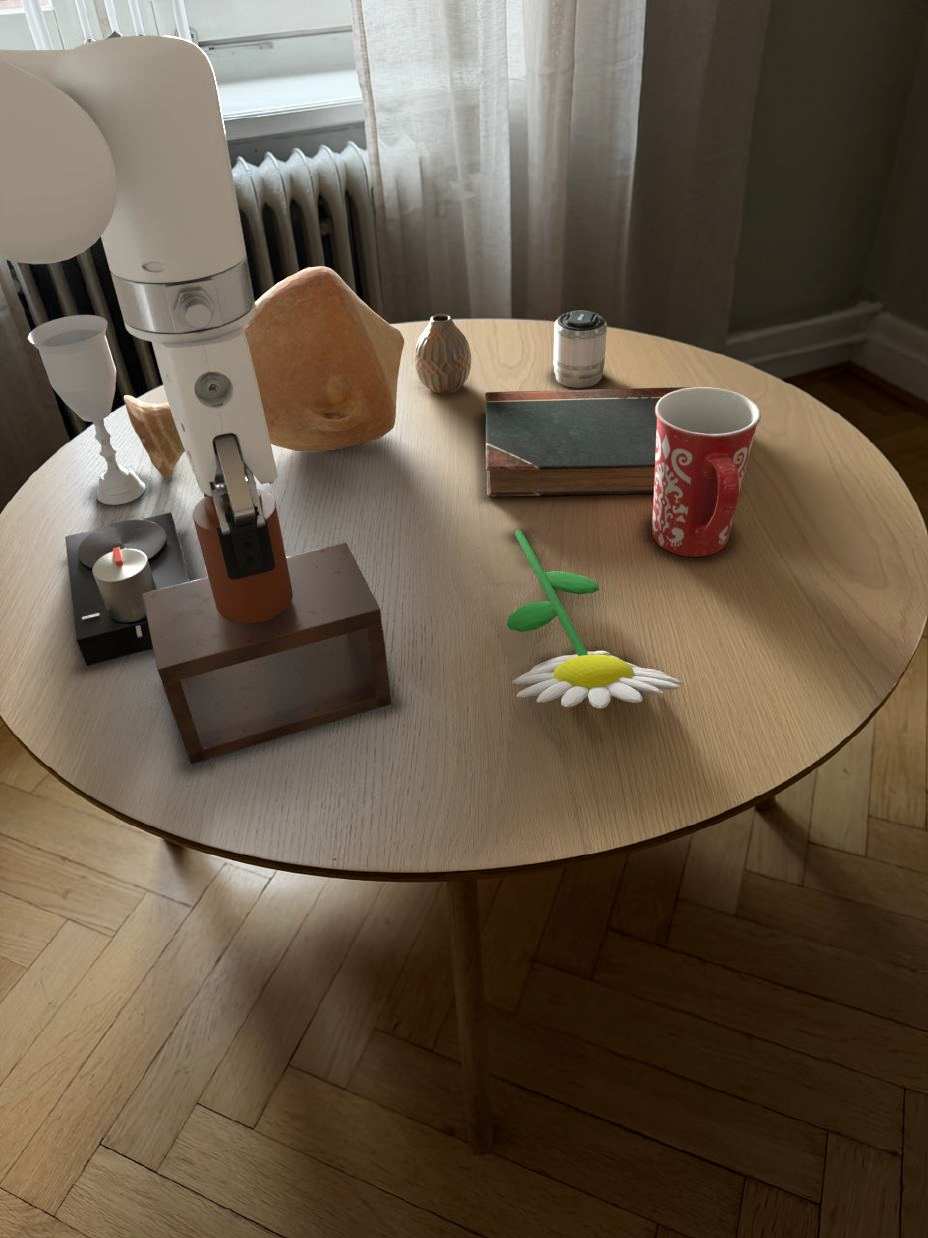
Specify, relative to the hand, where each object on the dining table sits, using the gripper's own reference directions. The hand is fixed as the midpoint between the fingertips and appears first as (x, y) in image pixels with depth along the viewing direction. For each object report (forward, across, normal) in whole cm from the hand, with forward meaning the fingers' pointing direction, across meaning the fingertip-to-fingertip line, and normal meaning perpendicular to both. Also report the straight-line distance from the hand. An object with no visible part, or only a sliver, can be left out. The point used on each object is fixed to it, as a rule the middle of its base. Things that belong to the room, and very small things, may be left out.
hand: (242, 545), depth 64 cm
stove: (+15, +18, +9) cm, 25 cm away
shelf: (+15, 0, 0) cm, 15 cm away
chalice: (+15, +37, +9) cm, 41 cm away
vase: (+15, +45, -31) cm, 57 cm away
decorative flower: (+15, -2, -24) cm, 29 cm away
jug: (+15, +39, -9) cm, 43 cm away
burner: (+12, +22, +9) cm, 27 cm away
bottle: (+5, 0, 0) cm, 5 cm away
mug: (+15, +4, -41) cm, 44 cm away
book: (+15, +23, -41) cm, 50 cm away
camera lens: (+15, +40, -47) cm, 64 cm away
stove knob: (+12, +13, +9) cm, 20 cm away
